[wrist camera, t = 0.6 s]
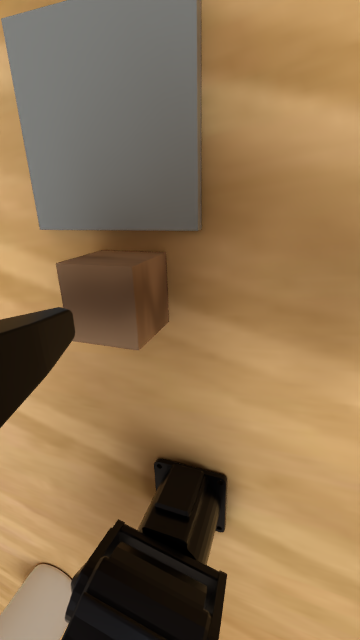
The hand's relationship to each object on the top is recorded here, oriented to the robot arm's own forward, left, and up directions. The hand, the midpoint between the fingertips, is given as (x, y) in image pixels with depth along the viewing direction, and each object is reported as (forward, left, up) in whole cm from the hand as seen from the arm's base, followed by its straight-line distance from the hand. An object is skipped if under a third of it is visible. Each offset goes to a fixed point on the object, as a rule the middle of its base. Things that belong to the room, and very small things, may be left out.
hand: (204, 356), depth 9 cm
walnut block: (-2, +8, -12) cm, 15 cm away
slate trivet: (+8, +9, -12) cm, 17 cm away
